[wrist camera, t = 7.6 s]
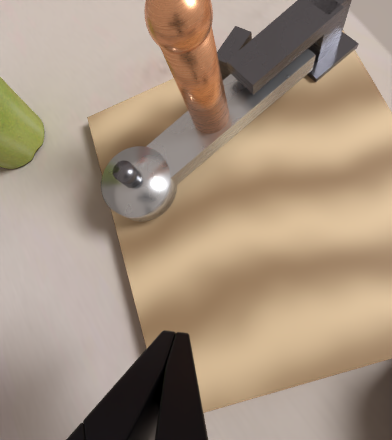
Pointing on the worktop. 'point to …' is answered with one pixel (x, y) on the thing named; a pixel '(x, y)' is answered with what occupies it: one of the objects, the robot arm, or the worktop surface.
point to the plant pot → (17, 129)
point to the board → (268, 237)
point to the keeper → (288, 43)
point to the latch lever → (190, 108)
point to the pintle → (127, 174)
